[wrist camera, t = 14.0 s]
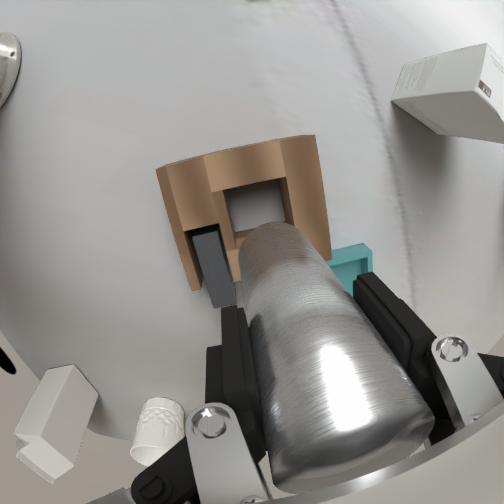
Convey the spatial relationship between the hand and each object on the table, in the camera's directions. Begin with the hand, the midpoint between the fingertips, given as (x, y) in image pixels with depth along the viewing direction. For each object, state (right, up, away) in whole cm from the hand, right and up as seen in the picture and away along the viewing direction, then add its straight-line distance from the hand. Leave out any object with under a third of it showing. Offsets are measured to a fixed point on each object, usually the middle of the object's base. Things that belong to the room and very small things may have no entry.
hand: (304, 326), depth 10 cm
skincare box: (+18, +21, +17) cm, 33 cm away
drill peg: (-1, +2, +6) cm, 6 cm away
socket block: (-2, +8, +20) cm, 22 cm away
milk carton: (-32, -19, +28) cm, 46 cm away
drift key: (-6, +2, +22) cm, 23 cm away
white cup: (-16, -23, +31) cm, 42 cm away
